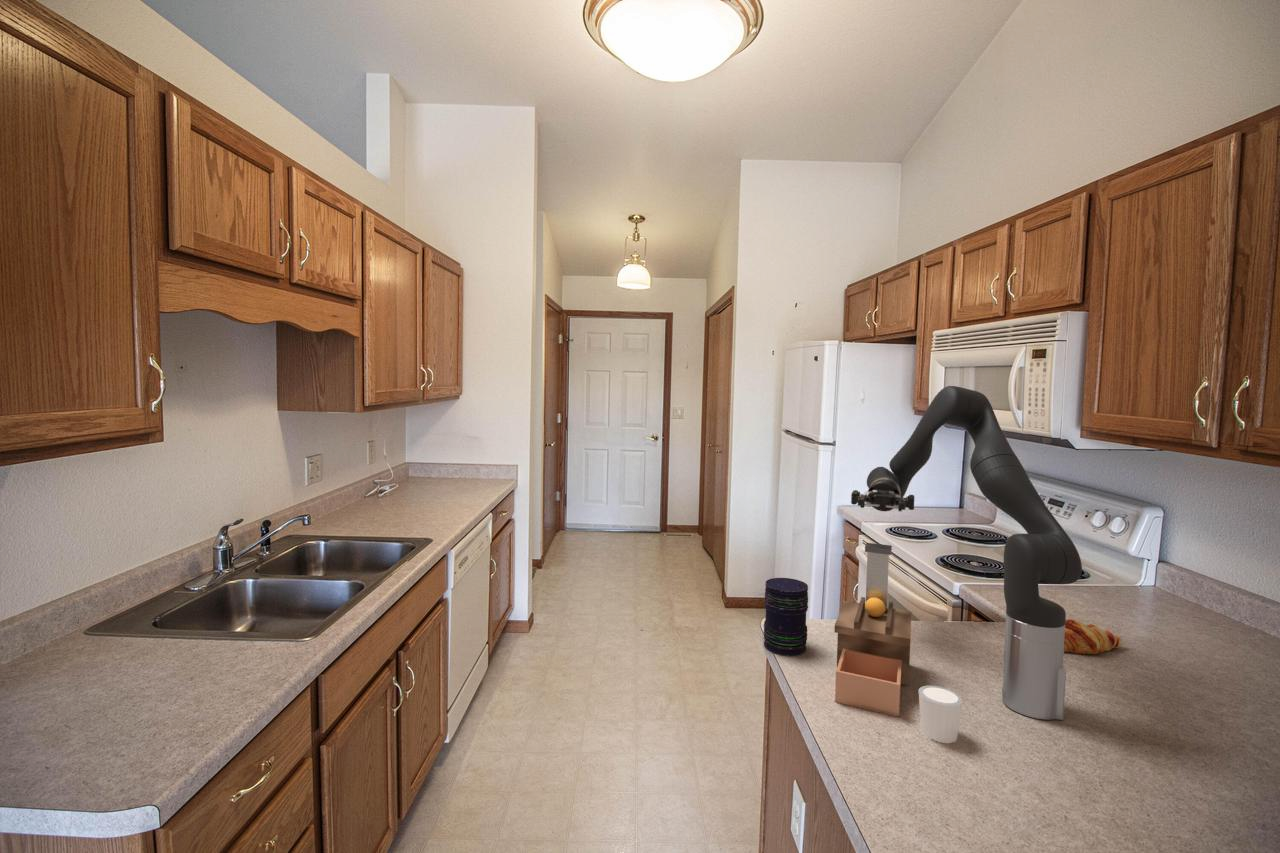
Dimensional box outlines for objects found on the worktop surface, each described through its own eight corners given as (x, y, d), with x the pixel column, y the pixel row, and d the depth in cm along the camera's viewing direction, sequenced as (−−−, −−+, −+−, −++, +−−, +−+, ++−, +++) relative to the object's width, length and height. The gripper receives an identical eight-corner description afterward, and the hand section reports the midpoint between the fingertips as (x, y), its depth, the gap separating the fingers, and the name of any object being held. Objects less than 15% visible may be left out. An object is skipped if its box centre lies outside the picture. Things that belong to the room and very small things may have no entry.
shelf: (909, 665, 125) (911, 604, 124) (908, 699, 110) (910, 631, 110) (842, 651, 131) (844, 594, 130) (832, 682, 116) (834, 618, 116)
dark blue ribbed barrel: (759, 651, 130) (761, 587, 129) (766, 635, 139) (768, 575, 138) (804, 659, 126) (806, 594, 126) (808, 642, 136) (810, 580, 135)
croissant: (1108, 656, 138) (1097, 621, 142) (1145, 653, 129) (1132, 617, 133) (1026, 655, 137) (1016, 620, 140) (1056, 652, 128) (1046, 615, 131)
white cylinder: (967, 748, 95) (969, 707, 95) (923, 742, 96) (924, 702, 96) (953, 725, 102) (954, 687, 101) (912, 720, 103) (913, 682, 103)
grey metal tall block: (889, 607, 125) (891, 545, 125) (888, 613, 122) (891, 549, 121) (864, 603, 128) (866, 542, 127) (862, 608, 124) (865, 546, 124)
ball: (885, 615, 122) (886, 596, 121) (884, 621, 118) (885, 602, 118) (865, 611, 123) (866, 593, 123) (863, 618, 120) (864, 599, 120)
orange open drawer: (900, 689, 114) (901, 660, 114) (898, 717, 104) (900, 685, 104) (842, 676, 119) (843, 648, 119) (834, 701, 109) (835, 671, 109)
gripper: (854, 476, 147) (848, 486, 132) (916, 481, 141) (916, 491, 126) (853, 505, 147) (847, 518, 132) (914, 511, 141) (915, 525, 126)
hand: (881, 505), depth 129 cm, fingers open, 7 cm apart
